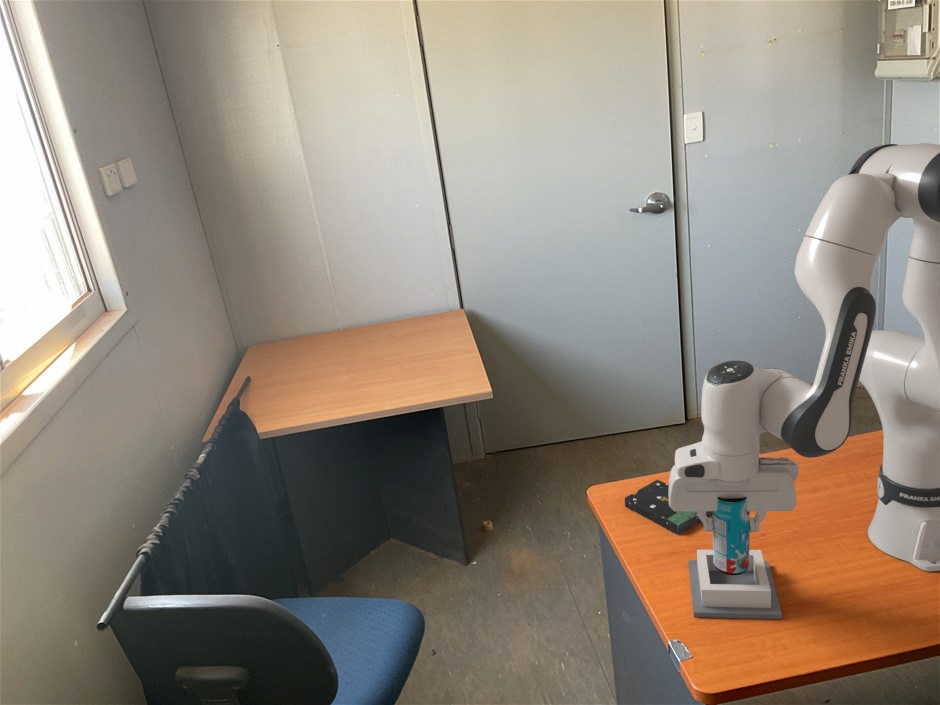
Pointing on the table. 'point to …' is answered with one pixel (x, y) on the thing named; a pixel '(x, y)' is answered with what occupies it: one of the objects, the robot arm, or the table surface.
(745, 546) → the beverage can
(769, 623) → the table surface
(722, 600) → the can holder
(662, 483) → the disk drive
